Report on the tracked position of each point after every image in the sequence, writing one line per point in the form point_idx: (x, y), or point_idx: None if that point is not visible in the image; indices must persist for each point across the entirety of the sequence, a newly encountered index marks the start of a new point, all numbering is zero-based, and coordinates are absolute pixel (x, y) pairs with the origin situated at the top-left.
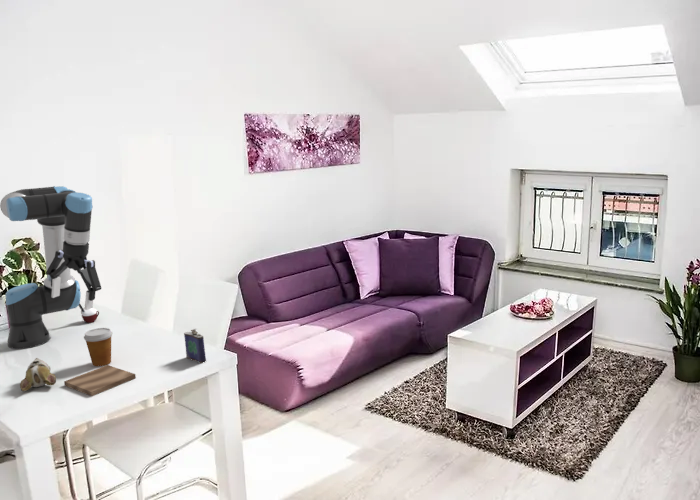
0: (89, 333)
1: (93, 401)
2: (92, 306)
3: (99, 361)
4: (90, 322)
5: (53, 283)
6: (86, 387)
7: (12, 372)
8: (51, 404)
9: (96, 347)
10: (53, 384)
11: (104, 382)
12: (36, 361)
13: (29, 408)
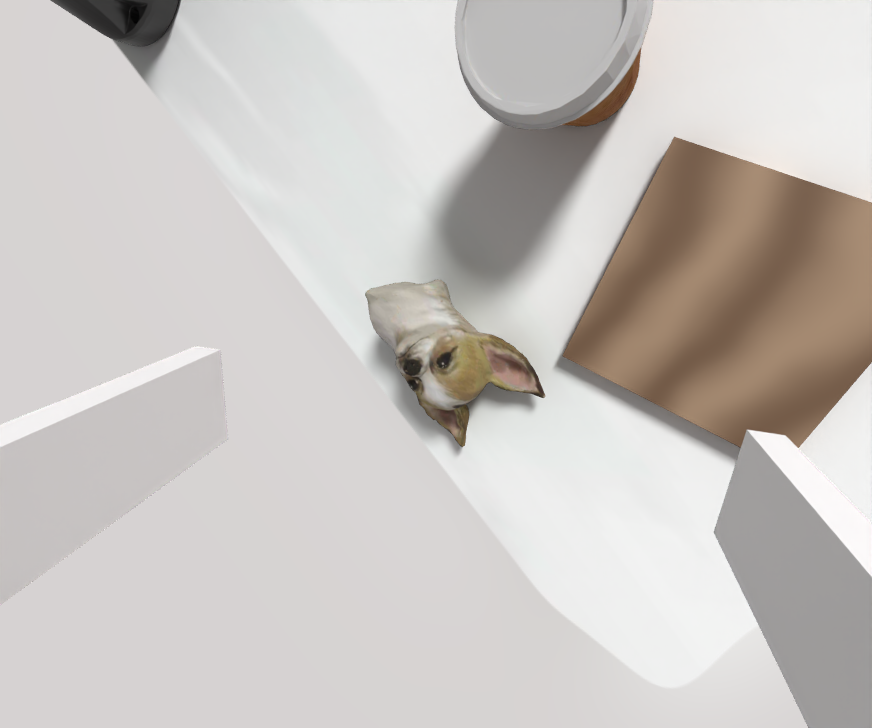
0: (487, 50)
1: None
2: (794, 448)
3: (603, 117)
4: None
5: (48, 559)
6: (721, 420)
7: (296, 250)
8: (626, 511)
9: (586, 114)
10: (542, 395)
11: (796, 365)
12: (414, 371)
13: (562, 530)
